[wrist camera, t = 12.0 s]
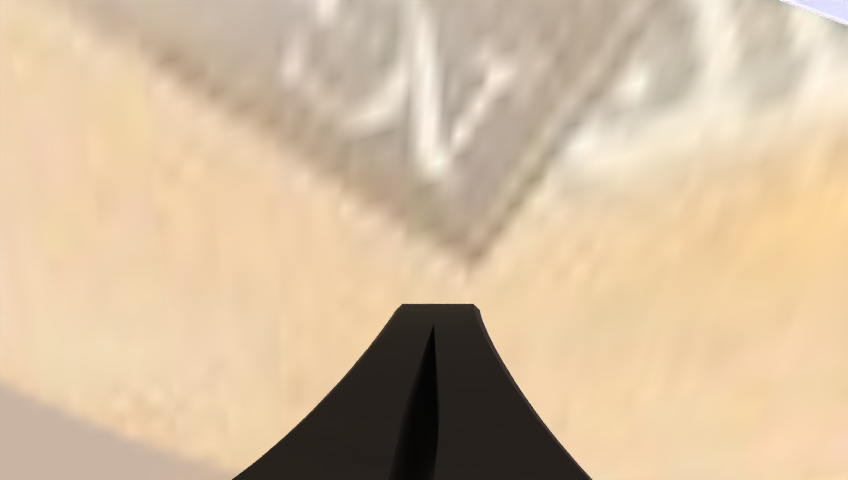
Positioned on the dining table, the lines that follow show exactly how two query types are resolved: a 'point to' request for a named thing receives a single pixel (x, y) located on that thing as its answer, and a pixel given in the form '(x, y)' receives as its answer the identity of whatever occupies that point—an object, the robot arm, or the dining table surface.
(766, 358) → the dining table surface
